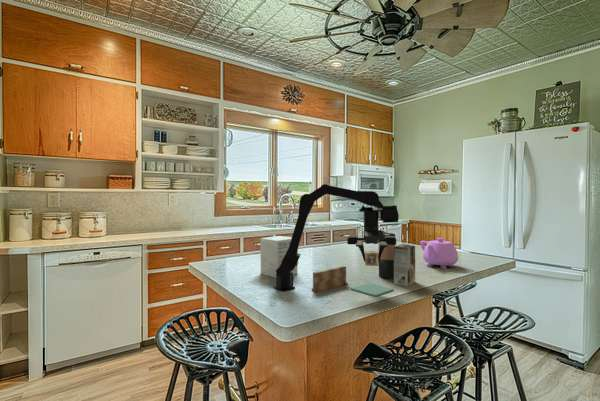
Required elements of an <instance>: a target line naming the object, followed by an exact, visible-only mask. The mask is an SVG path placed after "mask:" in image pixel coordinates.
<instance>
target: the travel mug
mask: <svg viewBox="0 0 600 401" xmlns="http://www.w3.org/2000/svg"><path fill="white" fill-rule="evenodd" d="M385 236H394V237H395V238H396V234H395V233H391V232H383V238H385ZM387 245H388V244H387ZM395 246H396V245H388V247H385V248H384V250H383V252H382V255H381V258H380V261H379V262H378V277H379V278H381V279H387V280H391V279H394V247H395ZM377 249H378V250H377V251H378V252H379V244H378V248H377Z"/></svg>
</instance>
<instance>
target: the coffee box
mask: <svg viewBox="0 0 600 401" xmlns="http://www.w3.org/2000/svg"><path fill="white" fill-rule="evenodd" d="M414 283H416V245H413V244H412V245H411V244H405V243H402V244H398V245H395V247H394V278H393V284H394V285H397V286H403V287H409V286H411V285H412V284H414Z"/></svg>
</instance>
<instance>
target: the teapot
mask: <svg viewBox="0 0 600 401" xmlns="http://www.w3.org/2000/svg"><path fill="white" fill-rule="evenodd" d="M419 243H420V244H419V245H420V248H421V249H422V251H423V253H422V259H423V260H424V261H425V263H428V264H427V265H426V266H427V267H434V265H435V266H436V265H437V266H440V269H443V270H447V267H449V266H450V267H449V268H452V267H454V265H455V264H457V263H458V261H459V255H458V254H459V253H458V251H457V248H456V246H455V245H454V243H453V242H452V241H447V240H445V238H443V237H437V238H436V240H429V241H427V240H420V242H419ZM425 244H426V245H425Z"/></svg>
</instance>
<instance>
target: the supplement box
mask: <svg viewBox="0 0 600 401" xmlns="http://www.w3.org/2000/svg"><path fill="white" fill-rule="evenodd" d="M291 239H292V236H285V235H275V236H268V237H261V238H260V240H259V241H260V274H262V275H264V276H268V277H272V278H275V279H276V274H277V273H276V270H277V268H278V267H279V265H280V264H281V262H282V260H283V258H284V256H285V254H286V252H287V250H288V248H289V246H290V242H291ZM291 272H292V273H293V275H297V274H298V265H297V266H295V268H294V269H293V270H292V271H291Z"/></svg>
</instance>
